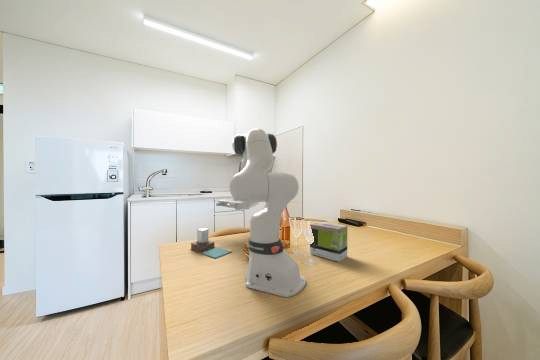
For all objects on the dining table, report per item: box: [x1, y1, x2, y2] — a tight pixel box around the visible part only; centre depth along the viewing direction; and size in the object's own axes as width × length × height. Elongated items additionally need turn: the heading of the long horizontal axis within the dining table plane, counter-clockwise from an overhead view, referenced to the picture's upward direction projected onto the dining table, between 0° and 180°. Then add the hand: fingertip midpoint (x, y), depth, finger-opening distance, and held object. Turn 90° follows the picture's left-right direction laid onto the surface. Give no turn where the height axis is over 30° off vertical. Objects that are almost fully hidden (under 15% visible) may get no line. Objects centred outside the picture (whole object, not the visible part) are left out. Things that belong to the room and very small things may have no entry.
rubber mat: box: [201, 246, 232, 259], centre depth 99 cm, size 10×10×1 cm
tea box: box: [309, 221, 348, 263], centre depth 97 cm, size 15×10×15 cm
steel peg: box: [196, 227, 209, 245], centre depth 105 cm, size 4×4×10 cm
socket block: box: [190, 239, 215, 253], centre depth 105 cm, size 8×8×3 cm
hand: (222, 205), depth 116 cm, fingers open, 8 cm apart
